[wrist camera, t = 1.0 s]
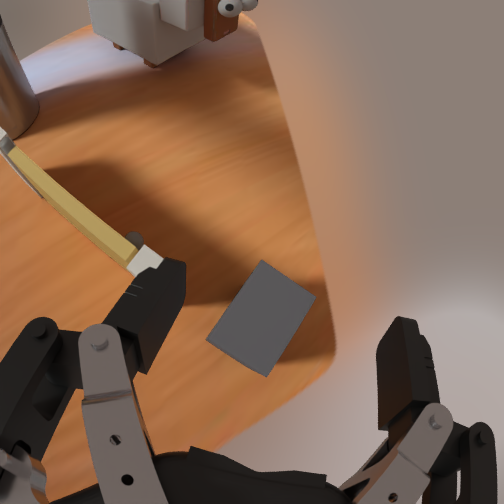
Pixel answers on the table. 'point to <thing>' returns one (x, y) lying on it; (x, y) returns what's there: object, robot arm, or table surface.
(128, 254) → the door
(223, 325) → the rubber block
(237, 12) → the toy
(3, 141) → the wall frame
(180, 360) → the table surface
